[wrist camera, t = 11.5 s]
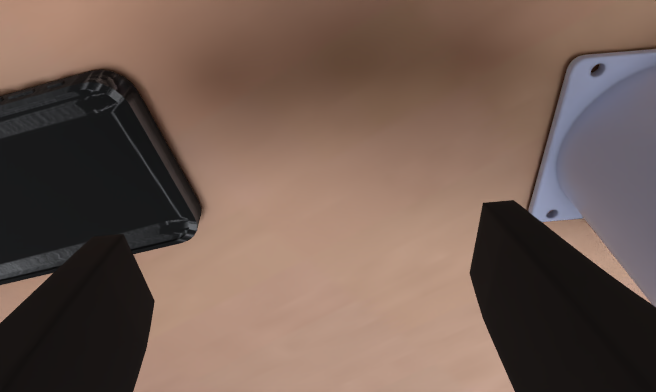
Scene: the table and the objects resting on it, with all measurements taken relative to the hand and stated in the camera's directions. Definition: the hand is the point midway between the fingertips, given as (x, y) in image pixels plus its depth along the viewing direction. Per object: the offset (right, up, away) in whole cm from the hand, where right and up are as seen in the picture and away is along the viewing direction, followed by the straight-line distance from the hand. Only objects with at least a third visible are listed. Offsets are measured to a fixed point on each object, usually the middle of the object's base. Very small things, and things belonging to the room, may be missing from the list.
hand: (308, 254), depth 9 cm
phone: (-13, +1, +10) cm, 17 cm away
